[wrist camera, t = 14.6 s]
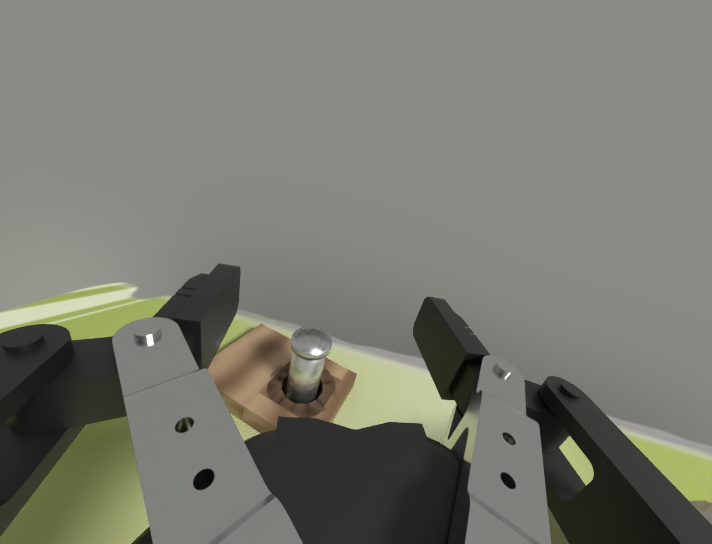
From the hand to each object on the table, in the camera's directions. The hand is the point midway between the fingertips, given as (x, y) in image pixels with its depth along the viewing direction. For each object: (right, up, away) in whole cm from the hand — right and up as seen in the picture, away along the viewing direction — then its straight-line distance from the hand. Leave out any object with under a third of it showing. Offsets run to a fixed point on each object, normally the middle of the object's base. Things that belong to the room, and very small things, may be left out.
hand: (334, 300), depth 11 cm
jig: (-11, -17, +30) cm, 36 cm away
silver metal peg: (-8, -18, +29) cm, 35 cm away
